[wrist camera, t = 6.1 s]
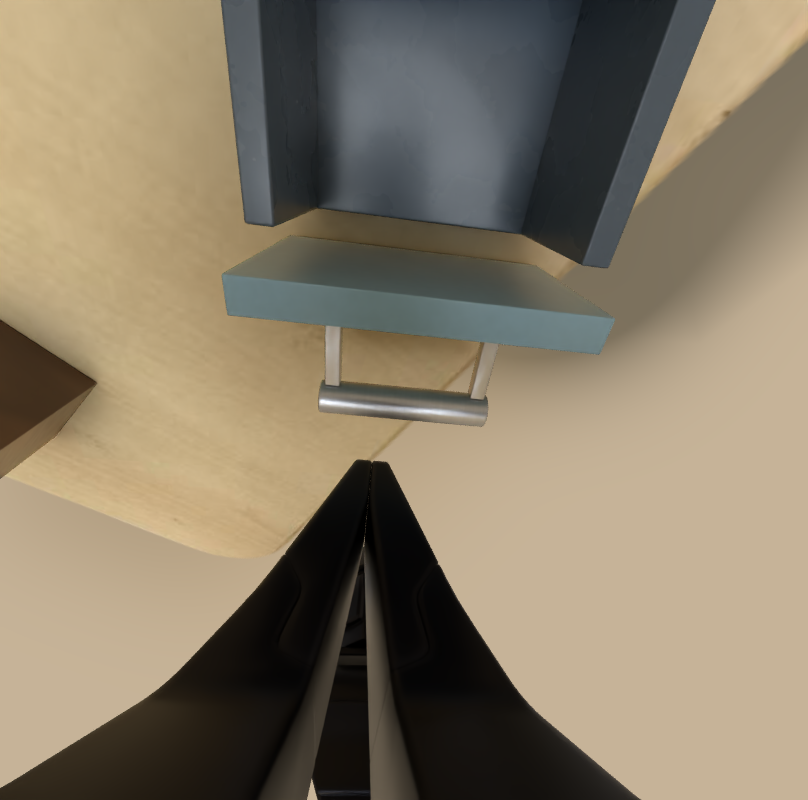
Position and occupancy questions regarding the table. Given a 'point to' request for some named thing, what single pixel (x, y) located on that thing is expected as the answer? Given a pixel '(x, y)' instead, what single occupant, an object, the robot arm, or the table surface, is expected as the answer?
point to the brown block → (33, 397)
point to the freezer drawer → (445, 165)
